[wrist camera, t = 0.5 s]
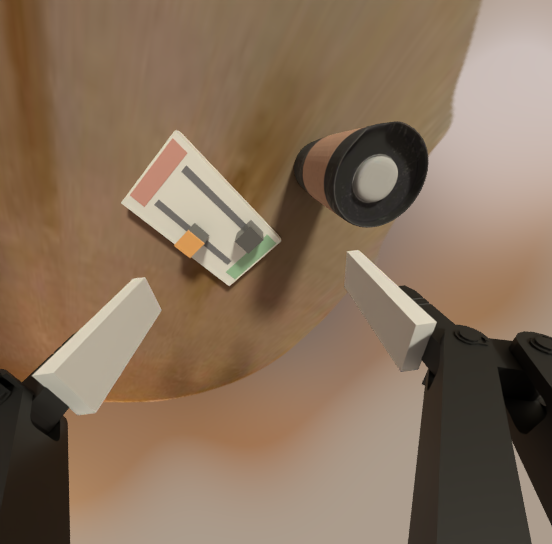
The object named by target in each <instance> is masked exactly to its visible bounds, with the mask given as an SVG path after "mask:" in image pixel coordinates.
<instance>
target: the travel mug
mask: <svg viewBox="0 0 552 544" xmlns="http://www.w3.org/2000/svg"><path fill="white" fill-rule="evenodd" d="M427 171H428V152H427V148H426V144H425V142H424V140H423V138H422V137H421V136H420V134H419V133H418V132H417V131H416V130H415V129H414V128H412V127H411V126H409V125H407V124H405V123H403V122H389V123H381V124H376V125H372V126H367V127H363V128H359V129H355V130H350V131H346V132H342V133H337V134H333V135H329V136H326V137H324V138H321V139H319V140H316V141H314V142H311V143H309V144H307V145H306V146H305V147H303V148H302V150H301V151H300V152H299V153H298V155H297V157H296V160H295V165H294V173H295V177H296V179H297V181H298V183H299V184H300V185H301V187H302V188H304V189H305V190H306V191H307V192H308V193H309V194H310V195H311V196H312V197H313V198H314V199H316V200H317V201H319V202H320V203H322V204H323V205H324V206H326V207H327V208H329V209H330V210H331V211H333V212H334V213H336V214H337V215H339V216H340V217H341V218H343V219H344V220H346V221H347V222H349V223H351V224H353V225H356V226H359V227H377V226H381V225H384V224H386V223H389V222H391V221H392V220H394V219H396V218H397V217H399V216H400V215H401V214H402V213H404V212H405V211H406V210H407V209H408V208H409V207H410V206H411V204H412V203H413V202H414V201H415V199H416V198H417V196H418V195H419V193H420V191H421V189H422V187H423V185H424V181H425V179H426V175H427Z"/></svg>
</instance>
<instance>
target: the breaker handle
mask: <svg viewBox="0 0 552 544" xmlns="http://www.w3.org/2000/svg"><path fill="white" fill-rule="evenodd" d="M208 237H209V235H208V234H207V233H206V232H205V231H204V230H203V229H201V228H200V227H199V226H198V225H197V224H196V223H194V224H193V225H192V226H191V227H190V228H189V230H188V231H187V232H186V233H185V234H184V235H183V236H182V237H181V238H180V239H179V240H178V241H177V242H176V244H175V245H174V246H175V247H176V248H177V249H179V250H180V251H181V252H183V253H184V254H185V255H187V256H188V257H189V258H191V257H192V256H193V255H194V254H195V253H196V252H197V251H198V250H199V249H200V248H201V247H202V246H203V245H204V244H205V242H206V240H207V239H208Z"/></svg>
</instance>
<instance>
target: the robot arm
mask: <svg viewBox="0 0 552 544" xmlns="http://www.w3.org/2000/svg"><path fill="white" fill-rule="evenodd" d="M344 287H345V288H346V290H347V291H348V293H349V294H350V296H351V297H352V299H353V300H354V302H355V303H356V305H357V307H358V308H359V310H360V311H361V313H362V314H363V315H364V317H365V319H366V320H367V321H368V323H369V325H370V326H371V328H372V329H373V331H374V332H375V334H376V335H377V337H378V338H379V340H380V341H381V343H382V344H383V346H384V347H385V349H386V350H387V352H388V353H389V355H390V356H391V358H392V359H393V361H394V362H395V364H396V365H397V367H398V368H399V370H400V371H401V372H403V371H411V370H418V369H419V366H420V364H421V361H423V362H424V363H425V365H426V366H427V367H428V371H427V373H426V376H425V378H424V380H423V382H422V384H423V385H425V391H424V400H423V409H422V419H421V428H420V437H419V438H420V439H419V446H418V455H417V465H416V474H415V483H414V492H413V502H412V512H411V521H410V529H409V539H408V544H532V543H531V538H530V533H529V528H528V523H527V518H526V513H525V507H524V502H523V497H522V492H521V486H520V481H519V476H518V471H517V467H516V462H515V455H514V450H513V445H512V442H513V444H514V446H515V448H516V450H517V452H518V454H519V457H520V459H521V461H522V463H523V465H524V467H525V469H526V471H527V474H528V476H529V478H530V480H531V482H532V485H533V487H534V489H535V491H536V493H537V495H538V497H539V500H540V502H541V504H542V506H543V508H544V510H545V512H546V514H547V517H548V518H549V521H550V523H551V525H552V337H549V336H546V335H543V334H539V333H535V332H520V333H518V334H517V335H516V337H515V338H514V340H513V341H507V340H498V339H490V338H487V337H486V336H485V335H484V334H483V333H481V332H479V331H477V330H475V329H473V328H470V327H467V326H463V325H455V324H454V323H453V322H451V321H450V320H449V319H448V318H447V317H446V316H444V315H443V314H442V313H441V312H440V311H438V310H437V309H436V308H435V307H434V306H433V305H431V304H429V302H428V301H427V300H426V299H423V297H422V296H421V295H420V294H419V293H417V292H416V291H415V290H413V289H411V288H409V287H407V286H397V285H396V284H395V283H394V282H393V281H392V280H390V279H389V278H388V277H387V276H386V275H385V274H384V273H383V272H382V271H381V270H380V269H379V268H377V267H376V266H375V265H374V264H373V263H372V262H371V261H370V260H369V259H368V258H367V257H366V256H365V255H363V254H362V253H361V252H360V251H359V250H355V251H347V258H346V271H345V284H344ZM161 311H162V310H161V308H160V306H159V304H158V302H157V300H156V298H155V296H154V294H153V292H152V290H151V288H150V286H149V284H148V282H147V280H146V278H145V277H143V278H135V279H132V280H131V281H130V282H129V283H128V284H127V285H126V286H125V287H124V288H123V289H122V290H121V291H120V292H119V293H118V294H117V295H116V296H115V297H114V298H113V299H112V300H110V301H109V302H108V303H107V304H106V305H105V306H104V307H103V308H102V309H101V310H100V311H99V312H98V313H97V314H96V315H95V316H94V317H93V318H92V319H91V320H90V321H88V322H87V323H86V324H85V325H84V326H83V327H82V328H81V329H80V330H79V331H78V332H76V333H75V334H73V335H72V336H71V337H70V338H69V339H67V340H66V341H65V342H64V343H63V344H62V346H61V347H59V348H58V349H57V350H56V351H55V352H54V354H52V355H51V356H49V357H48V358H47V359H46V360H45V361H44V362H43V363H42V364H41V365H40V366H39V367H38V368H37V369H36V370H35V371H34V372H33V373H31V374H30V375H29V376H28V377H27V378H26V379H25V380H24V381H23V382H20V381H19V380H18V379H17V378H15V377H14V376H13V375H12V374H10V373H9V372H8V371H7V370H4V369H0V544H70V516H69V474H68V473H69V472H68V471H69V470H68V423H67V420H66V418H65V417H64V416H63V414H64V413H65V412H66V411H67V410H68V408H70V409H71V410H72V411H74V412H75V413H76V414H77V415H82V414H90V413H96V412H97V410H98V408H99V407H100V405H101V404H102V402H103V401H104V399H105V398H106V396H107V395H108V393H109V391H110V390H111V388H112V387H113V385H114V384H115V382H116V381H117V379H118V377H119V376H120V374H121V373H122V371H123V370H124V368H125V367H126V365H127V363H128V362H129V360H130V359H131V357H132V356H133V354H134V353H135V351H136V349H137V348H138V346H139V345H140V343H141V342H142V340H143V339H144V337H145V335H146V334H147V332H148V331H149V329H150V328H151V326H152V325H153V323H154V321H155V320H156V318H157V317H158V315H159V314H160V312H161Z"/></svg>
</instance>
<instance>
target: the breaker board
mask: <svg viewBox="0 0 552 544" xmlns="http://www.w3.org/2000/svg"><path fill="white" fill-rule="evenodd" d="M121 203H122V204H123V205H124V206H126V207H127V208H128V209H129V210H131V211H132V212H133V213H135V214H136V215H137V216H139V217H140V218H141V219H142V220H144V221H145V222H146V223H148V224H149V225H150V226H152V227H153V228H154V229H155V230H157V231H158V232H159V233H161V234H162V235H163V236H165V237H166V238H167V239H168V240H170V241H171V242H172V243H174V244H176V242H177V241H178V240H179V239H180V238H181V237H182V236H183V235H184V234H185V233H186V232H187V231H188V230H189V228H190V227H191V226H192V225H193V224H194V223H196V224H197V225H198V226H199V227H200V228H201V229H203V230H204V231H205V232H206V233H207V234H208V235H209V237H208V239H207V240H206V242H205V244H204V245H203V246H202V247H201V248H200V249H199V250H198V251H197V252H196V253H195V254H194V255H193V256H192V258H193V259H194V260H196V261H197V262H198V263H200V264H201V265H202V266H204V267H205V268H206V269H207V270H209V271H210V272H211V273H213V274H214V275H215V276H217V277H218V278H219V279H220V280H222V281H223V282H224V283H226V284H227V285H228V286H230V285H231V284H232V283H234V282H235V281H236V280H237V279H238V278H239V277H241V276H242V275H243V274H244V273H245V272H246V271H247V270H249V269H250V268H251V267H252V266H253V265H254V264H256V263H257V262H258V261H259V260H260V259H261V258H262V257H264V256H265V255H266V254H267V253H268V252H269V251H271V250H272V249H273V248H274V247H275V246H276V245H277V244H279V243H280V242H281V237H280V236H279V235H278V234H277V233H276V232H275V231H274V230H273V229H272V228H271V227H270V226H269V225H268V224H267V222H266V221H265V220H264V219H263V218H262V217H261V216H260V215H259V214H258V213H257V212H256V211H255V210H254V209H253V208H252V207H251V206H250V205H249V204H248V202H247V201H246V200H245V199H244V198H243V197H242V196H241V195H240V194H239V193H238V192H237V191H236V190H235V189H234V188H233V187H232V186H231V185H230V184H229V182H228V181H227V180H226V179H225V178H224V177H223V176H222V175H221V174H220V173H219V172H218V171H217V170H216V169H215V168H214V167H213V166H212V165H211V164H210V163H209V161H208V160H207V159H206V158H205V157H204V156H203V155H202V154H201V153H200V152H199V151H198V150H197V149H196V148H195V147H194V146H193V145H192V144H191V143H190V141H189V140H188V139H187V138H186V137H185V136H184V135H183V134H182V133H181V132H180V131H177V130H175V131H174V132H173V134H172V135H171V136H170V138H169V139H168V141H167V142H166V143H165V145H164V146H163V147H162V149H161V150H160V151H159V153H158V154H157V155H156V157H155V158H154V159H153V161H152V162H151V163H150V165H149V166H148V167H147V169H146V170H145V171H144V173H143V174H142V175H141V177H140V178H139V179H138V181H137V182H136V184H135V185H134V186H133V188H132V189H131V190H130V192H129V193H128V194H127V196H126V197H125V198H124V200H123V201H122V202H121Z"/></svg>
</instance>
